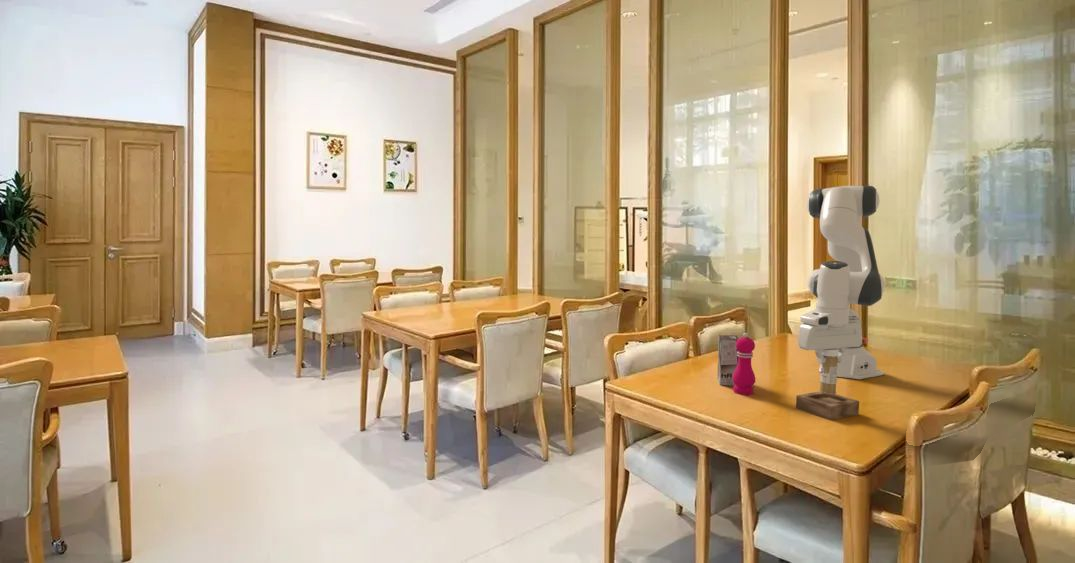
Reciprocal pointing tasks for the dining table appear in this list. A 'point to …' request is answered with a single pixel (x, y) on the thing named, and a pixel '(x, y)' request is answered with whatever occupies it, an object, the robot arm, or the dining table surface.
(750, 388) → the pepper mill
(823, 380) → the sprinkles bottle
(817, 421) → the dining table surface
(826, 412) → the walnut pedestal
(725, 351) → the coffee box
